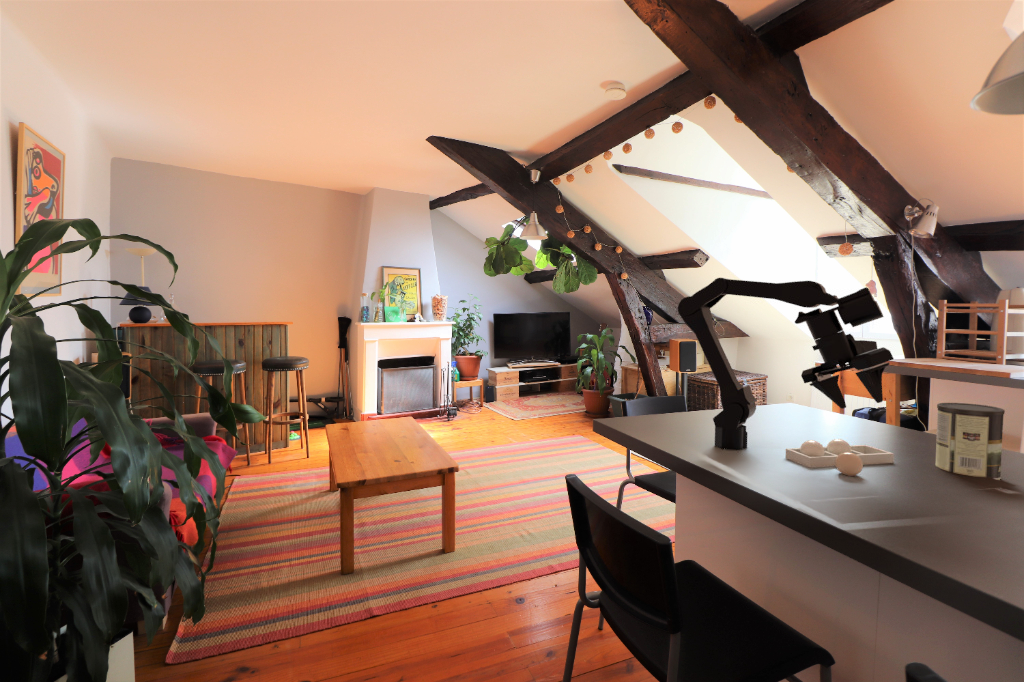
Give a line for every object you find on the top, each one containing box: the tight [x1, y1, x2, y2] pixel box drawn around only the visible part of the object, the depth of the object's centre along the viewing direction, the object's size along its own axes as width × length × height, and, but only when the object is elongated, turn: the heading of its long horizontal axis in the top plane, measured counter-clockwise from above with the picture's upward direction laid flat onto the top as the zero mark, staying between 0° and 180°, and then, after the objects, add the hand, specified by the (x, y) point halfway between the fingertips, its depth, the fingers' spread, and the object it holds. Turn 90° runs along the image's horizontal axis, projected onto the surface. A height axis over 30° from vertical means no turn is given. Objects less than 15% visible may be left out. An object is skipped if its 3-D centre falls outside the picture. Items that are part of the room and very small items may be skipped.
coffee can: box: [935, 402, 1006, 481], centre depth 104 cm, size 10×10×14 cm
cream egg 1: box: [799, 439, 825, 457], centre depth 110 cm, size 5×5×5 cm
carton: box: [785, 444, 895, 468], centre depth 111 cm, size 20×7×3 cm, turn 100°
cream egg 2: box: [826, 438, 852, 455], centre depth 111 cm, size 5×5×5 cm
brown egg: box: [835, 452, 864, 477], centre depth 101 cm, size 5×5×5 cm
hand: (861, 405), depth 105 cm, fingers open, 9 cm apart
